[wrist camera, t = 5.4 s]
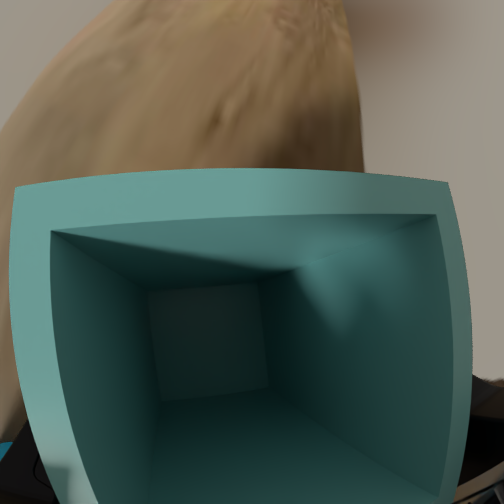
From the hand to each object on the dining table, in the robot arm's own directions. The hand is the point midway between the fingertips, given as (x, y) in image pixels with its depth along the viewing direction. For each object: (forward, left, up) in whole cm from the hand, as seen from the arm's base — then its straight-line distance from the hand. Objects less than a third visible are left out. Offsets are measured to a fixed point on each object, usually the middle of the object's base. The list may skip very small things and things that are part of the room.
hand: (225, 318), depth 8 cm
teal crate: (-1, +1, -7) cm, 7 cm away
